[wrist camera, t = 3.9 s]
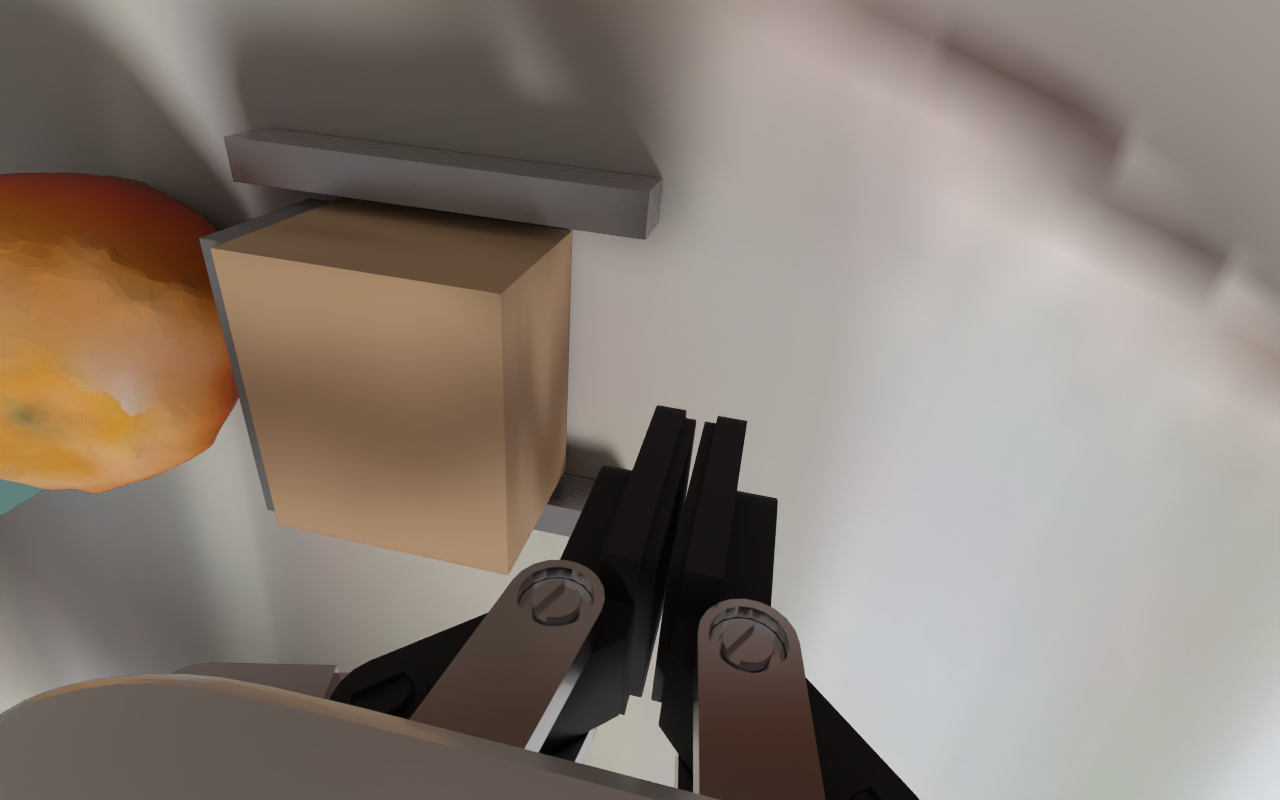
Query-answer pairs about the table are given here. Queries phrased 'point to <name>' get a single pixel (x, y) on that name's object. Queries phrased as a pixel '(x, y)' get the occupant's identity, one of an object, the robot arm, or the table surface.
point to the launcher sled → (400, 372)
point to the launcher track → (457, 206)
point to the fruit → (104, 333)
